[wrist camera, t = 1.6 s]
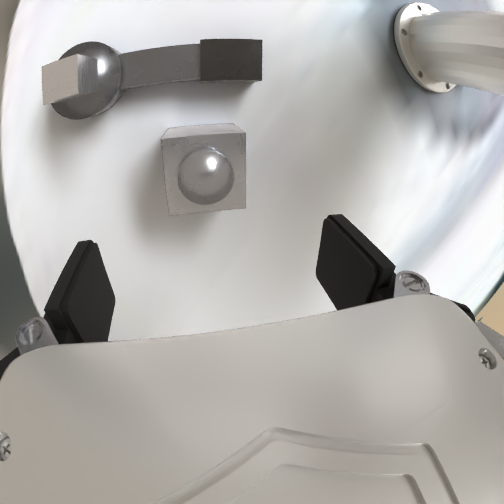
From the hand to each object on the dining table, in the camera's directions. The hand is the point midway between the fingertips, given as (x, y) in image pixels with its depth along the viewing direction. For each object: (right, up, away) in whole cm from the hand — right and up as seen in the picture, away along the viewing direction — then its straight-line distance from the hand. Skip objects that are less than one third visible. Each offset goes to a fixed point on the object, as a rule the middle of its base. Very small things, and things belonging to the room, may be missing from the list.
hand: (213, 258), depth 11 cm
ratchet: (-7, +16, +8) cm, 20 cm away
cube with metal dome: (-3, +9, +14) cm, 17 cm away
